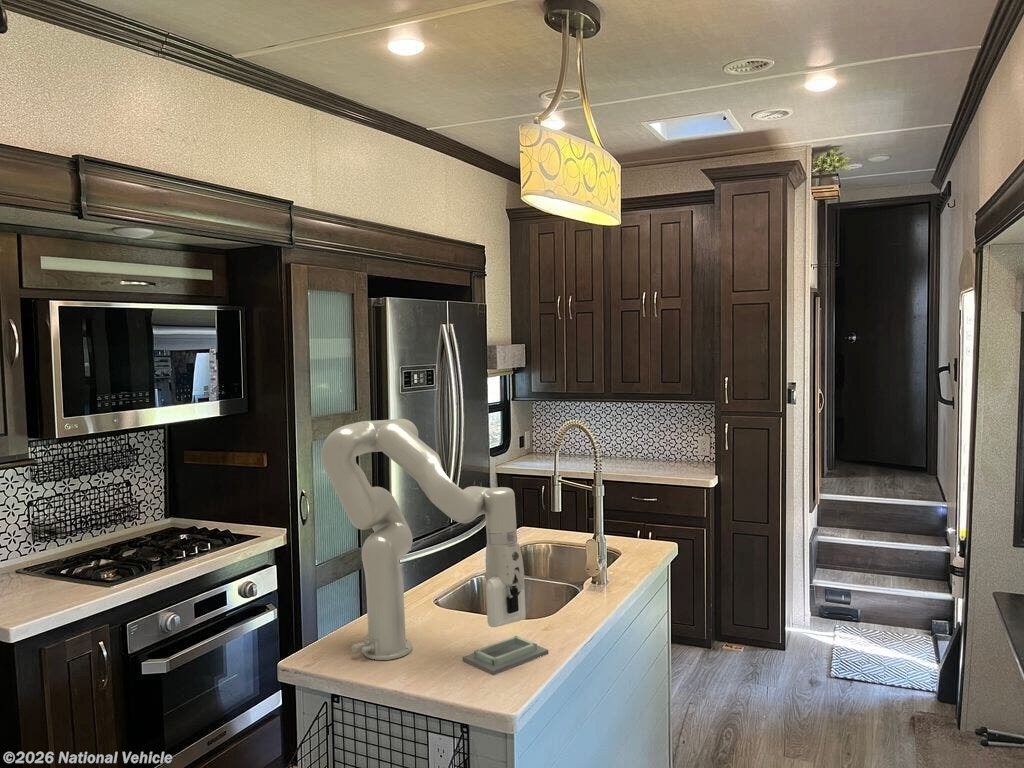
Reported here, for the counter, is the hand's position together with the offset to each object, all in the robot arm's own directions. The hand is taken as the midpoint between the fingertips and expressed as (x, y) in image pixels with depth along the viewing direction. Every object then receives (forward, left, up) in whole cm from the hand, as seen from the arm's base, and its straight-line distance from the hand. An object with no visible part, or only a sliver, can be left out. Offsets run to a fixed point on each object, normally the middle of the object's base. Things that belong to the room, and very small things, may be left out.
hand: (506, 609), depth 196 cm
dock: (0, 0, -12) cm, 12 cm away
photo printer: (0, 0, -4) cm, 4 cm away
